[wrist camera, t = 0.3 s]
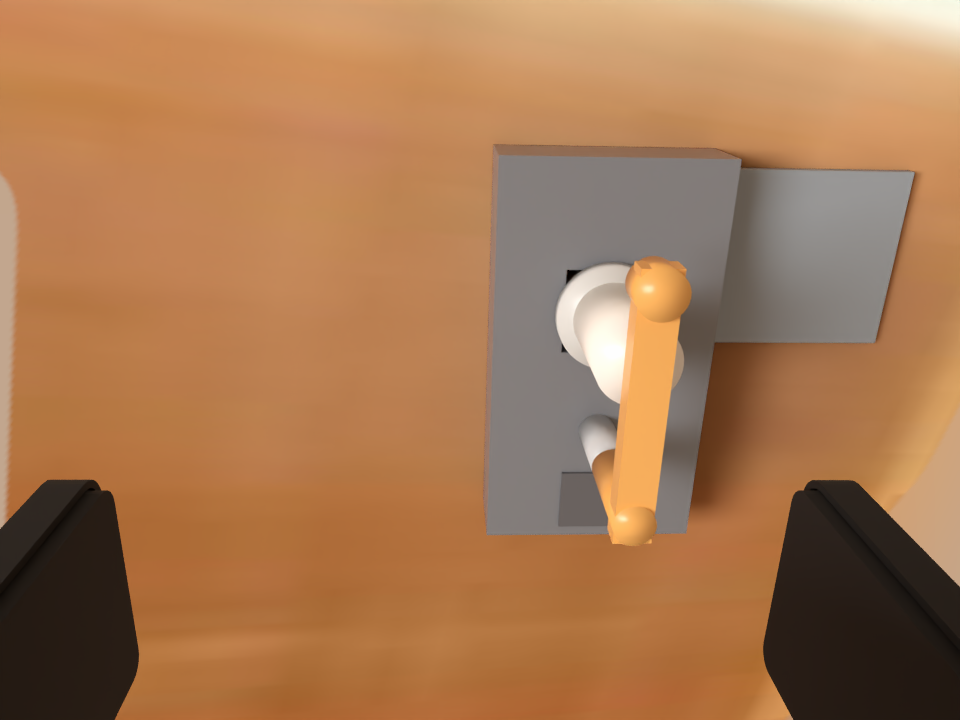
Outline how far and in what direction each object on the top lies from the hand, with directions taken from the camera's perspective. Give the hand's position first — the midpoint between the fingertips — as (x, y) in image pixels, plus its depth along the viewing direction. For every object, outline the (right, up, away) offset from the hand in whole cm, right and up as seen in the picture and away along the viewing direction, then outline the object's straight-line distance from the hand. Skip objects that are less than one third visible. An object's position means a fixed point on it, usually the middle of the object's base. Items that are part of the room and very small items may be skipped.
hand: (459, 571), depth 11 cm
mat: (+19, +9, +34) cm, 40 cm away
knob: (+7, +7, +34) cm, 35 cm away
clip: (+7, +3, +27) cm, 28 cm away
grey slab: (+7, +4, +35) cm, 36 cm away
